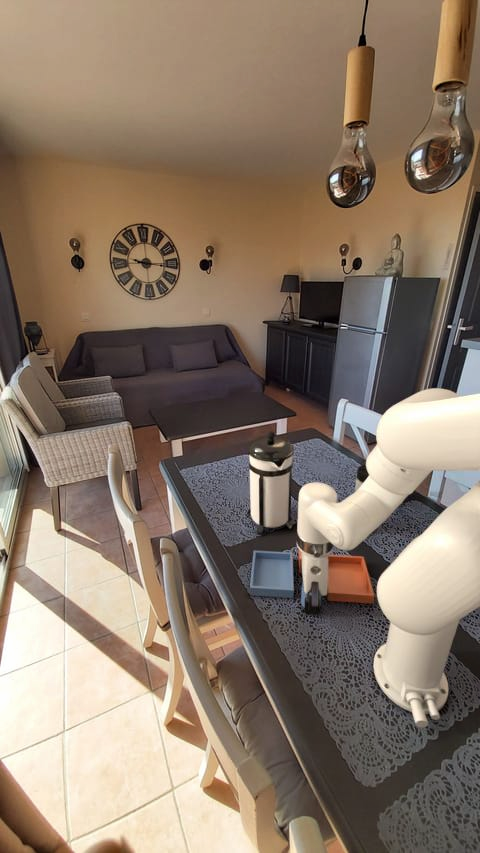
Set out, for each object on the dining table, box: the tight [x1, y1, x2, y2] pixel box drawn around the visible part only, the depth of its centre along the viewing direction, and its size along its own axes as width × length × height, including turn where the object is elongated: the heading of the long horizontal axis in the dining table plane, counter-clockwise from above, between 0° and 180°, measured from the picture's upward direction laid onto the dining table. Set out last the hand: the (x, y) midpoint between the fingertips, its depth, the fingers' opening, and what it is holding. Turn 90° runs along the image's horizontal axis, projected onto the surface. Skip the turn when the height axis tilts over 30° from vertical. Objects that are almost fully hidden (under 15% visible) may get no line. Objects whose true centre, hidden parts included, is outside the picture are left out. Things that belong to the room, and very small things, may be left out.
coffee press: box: [247, 430, 295, 536], centre depth 105 cm, size 17×16×30 cm
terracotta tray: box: [326, 554, 375, 605], centre depth 88 cm, size 12×10×2 cm
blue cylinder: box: [300, 583, 322, 608], centre depth 82 cm, size 4×4×5 cm
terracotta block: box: [297, 549, 302, 574], centre depth 92 cm, size 5×5×5 cm
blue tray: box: [249, 550, 295, 599], centre depth 90 cm, size 12×10×2 cm
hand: (310, 601), depth 83 cm, fingers closed on blue cylinder, 4 cm apart
